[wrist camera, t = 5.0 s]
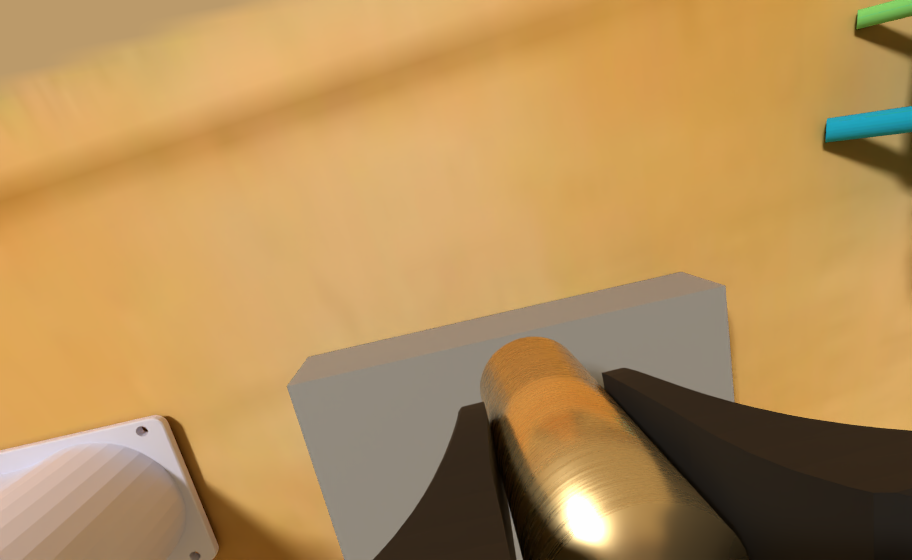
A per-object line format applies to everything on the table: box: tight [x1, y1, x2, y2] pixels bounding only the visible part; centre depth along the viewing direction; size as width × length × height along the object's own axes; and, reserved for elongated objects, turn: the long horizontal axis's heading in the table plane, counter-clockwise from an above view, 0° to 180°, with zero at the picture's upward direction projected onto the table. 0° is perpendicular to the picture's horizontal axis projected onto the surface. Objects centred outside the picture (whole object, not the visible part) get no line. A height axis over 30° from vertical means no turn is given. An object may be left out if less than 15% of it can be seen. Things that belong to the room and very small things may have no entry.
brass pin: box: [480, 337, 749, 560], centre depth 10 cm, size 3×3×7 cm
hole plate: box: [287, 272, 734, 560], centre depth 19 cm, size 18×12×3 cm, turn 102°
